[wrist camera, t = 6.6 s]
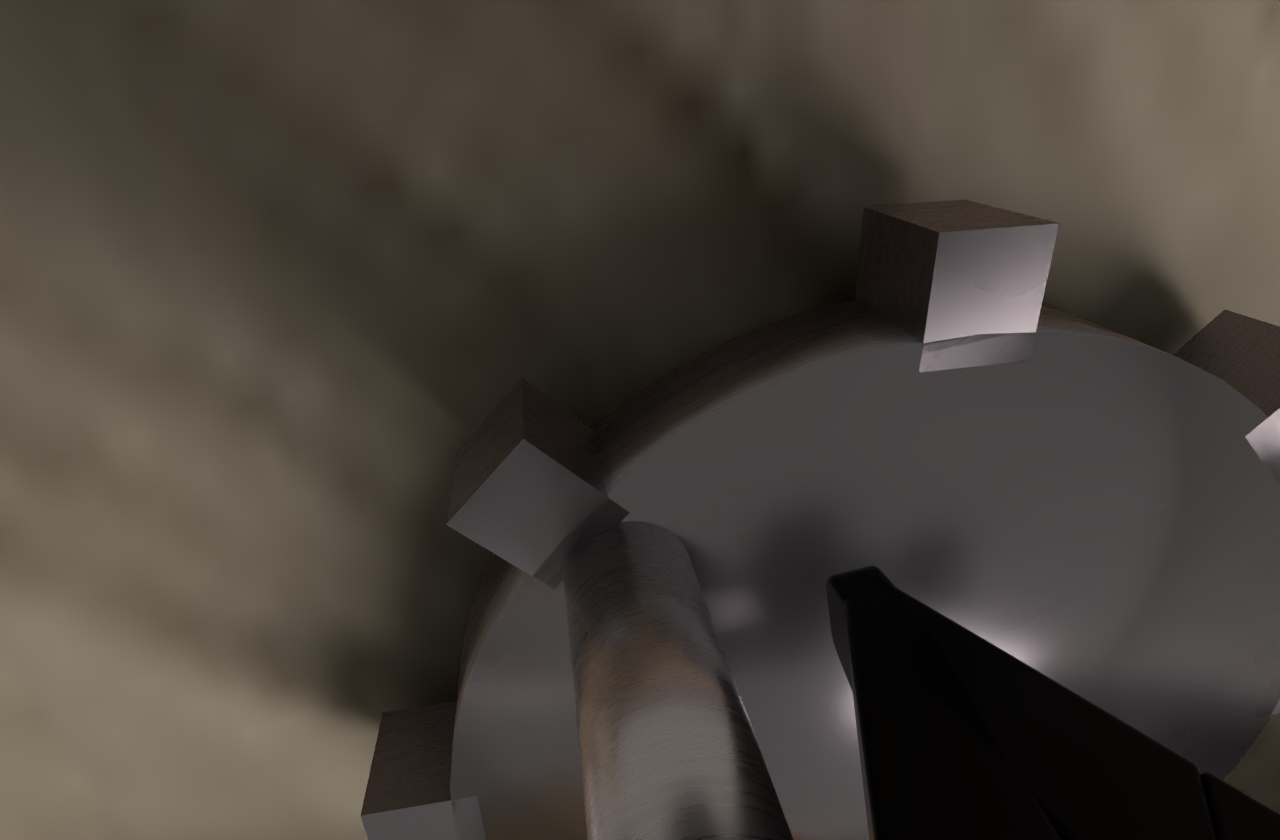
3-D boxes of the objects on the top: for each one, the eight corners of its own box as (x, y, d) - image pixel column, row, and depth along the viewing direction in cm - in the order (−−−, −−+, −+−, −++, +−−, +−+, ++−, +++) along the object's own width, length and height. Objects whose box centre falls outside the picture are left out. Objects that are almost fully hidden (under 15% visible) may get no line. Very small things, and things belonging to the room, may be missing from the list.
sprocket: (954, -120, 8) (1894, -565, 2) (1396, 583, 14) (1907, 869, 9) (173, 777, 11) (-121, 1368, 6) (812, 1006, 18) (934, 1384, 13)
